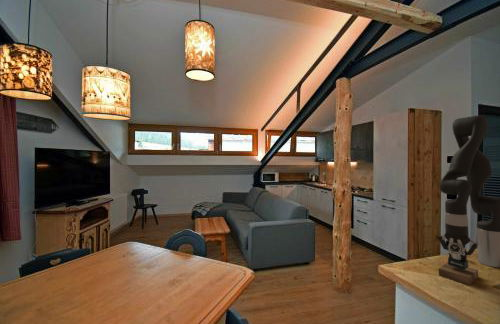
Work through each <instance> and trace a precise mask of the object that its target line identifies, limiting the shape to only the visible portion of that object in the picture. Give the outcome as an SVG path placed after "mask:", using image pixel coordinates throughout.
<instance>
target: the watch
mask: <svg viewBox="0 0 500 324" xmlns="http://www.w3.org/2000/svg"><path fill="white" fill-rule="evenodd" d="M447 245H448V250H449V251H448V250H447V251H448V253H449V252H450V254H451V256H452V258H453V259H452V258H450V257H449V256H448V258H447V262H448V265H451V266H454V267H457V268H460V269H464V270H465V269H466V268H468V267H469V260H468V259H467V261H466V262H464V261H461V255H462V254H461V253H462V252H463V251H464V250H463V248H462V246H461V245H460V244H458V243H454V242H453V243H450V244H449V243H448V244H447Z"/></svg>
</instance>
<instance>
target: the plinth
mask: <svg viewBox="0 0 500 324" xmlns="http://www.w3.org/2000/svg"><path fill="white" fill-rule="evenodd" d="M438 276H440V277H443V278H446V279H449V280H453V281H455V282H458V283H461V284H463V285H467V286H470V285H472V284H473V282H474V281H476V280H477V279H478V277H479V270H478V269H476V268H472V267H469V266H468V268H466V269H465V270H464V269H460V268H457V267H454V266H451V265H448V261H447V262H446V263H444V264H443V265H442V266H440V267H439V268H438Z"/></svg>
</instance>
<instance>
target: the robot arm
mask: <svg viewBox="0 0 500 324" xmlns="http://www.w3.org/2000/svg"><path fill="white" fill-rule="evenodd" d="M488 127H489V122H488V119H487V118H486V117H485V116H484V115H481V114H479V115H478V114H477V115H473V116H466V117H461V118H460V117H459V118H456V119H454V120H453V122H452V131H453V132H452V133H453V135H454V138H455V140H456V144H457V146H458V150H457V151H456V152H455V153H454V155H453V156H452V158H451V160H450V164H449V168H448V170H447V171H446V172H445V174H444V176H443V177H442V179H441V180H440V181H439V187H438V188H439V190H440V192H441V193H443V194H445V195H453V196H457V197H456V199H453V198H451V199H447V200H445V202H444V203H445V204H444V205H445V213H444V214H445V215H444V229H445V233H444V235H442V234H441V235H438V236H437V239H438V241H439V242H440V244H441V246H442V248H443V250H446V251H448V258H449V257H450V258H452V256H451V254H450V252H449V250H448V245H449V244H450V243H453V242H454V243H458V244H460V245H461V246H462V248H463V250H464V251H463V252H462V253H461V254H462V255H461V261H464V262H466V261H467V260H468V258H467V257H468V256H471V255H473V253H474V252H475V251H476V249H477V261H478V262H479V263H481V264H483V265H485V266H489V267H493V268H498V269H499V268H500V198H499V197H492V196H485V195H484V196H483V195H482V189H483V187H484V186H485V184H486V183H487V181H488V180H489V179H490V178H491V176H492V173H493V169H492V163H491V161H490V159H489V157H488V156H486V154H484V153H483V152H482V151H481V150H479V148H480V146H481V144H482V141H483V139H484V137H485V135H486V133H487V131H488ZM464 177H465V178H466V179H458V178H464ZM469 200H470V206H471V209H472V211H473V212H474V213H475V214H477V215H483V216H490V217H491V219H488V220H480V221H477V222H476V240H477V242H474V241H472V240H471V239H470V236H469V219H468V215H467V214H468V207H467V205H468V201H469ZM447 242H448V244H447ZM467 244H469V247H470V248H469V249H468V250H467V248H466V245H467ZM452 259H453V258H452Z"/></svg>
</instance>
